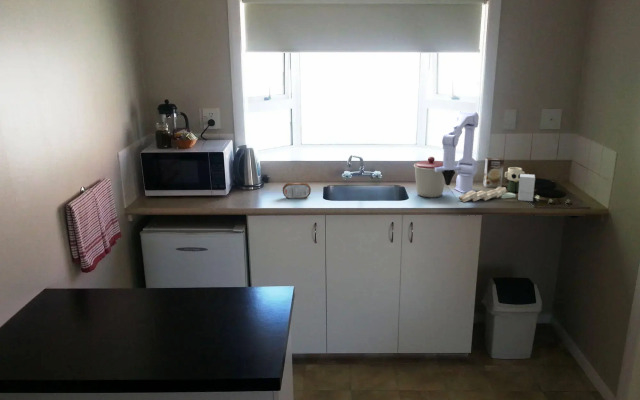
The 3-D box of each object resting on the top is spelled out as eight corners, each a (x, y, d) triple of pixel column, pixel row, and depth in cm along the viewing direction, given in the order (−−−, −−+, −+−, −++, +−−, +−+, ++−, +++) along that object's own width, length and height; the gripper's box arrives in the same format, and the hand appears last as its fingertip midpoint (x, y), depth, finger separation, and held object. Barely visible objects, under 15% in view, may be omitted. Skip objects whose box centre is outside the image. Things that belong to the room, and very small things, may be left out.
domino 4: (489, 193, 274) (498, 186, 278) (490, 196, 275) (499, 189, 278) (496, 194, 270) (505, 187, 274) (497, 197, 271) (506, 190, 275)
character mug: (505, 193, 281) (508, 170, 277) (500, 190, 288) (502, 167, 284) (525, 193, 282) (527, 169, 278) (520, 189, 288) (522, 166, 285)
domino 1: (458, 196, 269) (471, 190, 270) (459, 200, 269) (472, 193, 270) (463, 198, 265) (476, 192, 266) (464, 202, 265) (477, 195, 266)
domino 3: (479, 195, 272) (492, 189, 273) (480, 198, 272) (493, 192, 274) (484, 197, 268) (497, 191, 269) (484, 200, 268) (498, 194, 269)
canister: (423, 201, 268) (424, 161, 263) (406, 192, 285) (407, 155, 279) (453, 197, 274) (455, 158, 268) (435, 189, 290) (437, 152, 285)
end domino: (497, 193, 275) (510, 192, 277) (497, 197, 276) (510, 196, 278) (502, 195, 271) (515, 194, 273) (502, 199, 272) (515, 198, 274)
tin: (310, 197, 279) (310, 181, 277) (311, 198, 276) (310, 183, 274) (282, 197, 278) (282, 182, 276) (282, 199, 275) (282, 184, 273)
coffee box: (485, 187, 294) (487, 159, 290) (483, 184, 300) (485, 157, 296) (501, 187, 293) (504, 159, 289) (499, 184, 299) (501, 157, 295)
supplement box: (532, 197, 272) (535, 174, 269) (532, 201, 265) (535, 177, 262) (517, 196, 275) (520, 173, 271) (517, 200, 268) (519, 176, 265)
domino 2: (468, 195, 270) (481, 190, 271) (469, 199, 271) (482, 193, 272) (472, 198, 266) (486, 192, 267) (473, 201, 267) (487, 195, 268)
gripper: (439, 160, 254) (438, 187, 258) (466, 159, 257) (464, 185, 261) (433, 158, 260) (431, 184, 264) (459, 156, 264) (457, 182, 268)
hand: (447, 184), depth 263 cm, fingers closed
